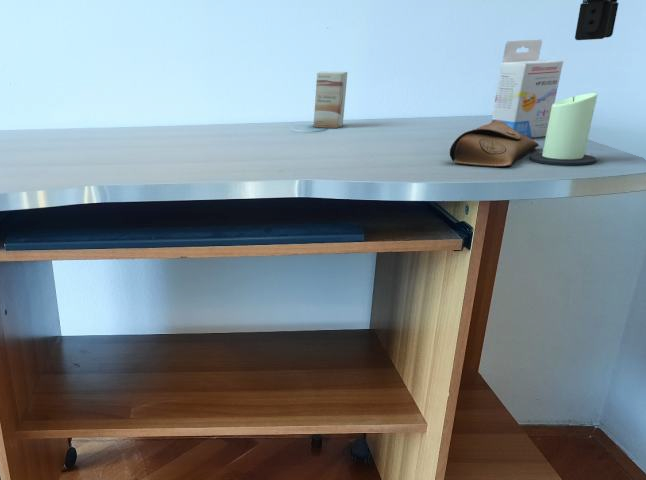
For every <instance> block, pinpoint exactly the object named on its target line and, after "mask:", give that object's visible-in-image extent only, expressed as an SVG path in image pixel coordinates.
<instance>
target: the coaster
mask: <svg viewBox="0 0 646 480" xmlns="http://www.w3.org/2000/svg"><path fill="white" fill-rule="evenodd" d="M542 154H543V152H538V153H533V154H531V155H530V156H529V160H530V161H531V162H535V163H538V164H545V165H550V166H551V165H552V166H568V167H569V166H574V167H575V166H587V165H592V164H595V163H597V157H596V156H592V155H589V154H584V156H583V158H581V159H578V160H555V159H548V158H545V157H543V156H542Z"/></svg>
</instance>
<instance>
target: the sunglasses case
mask: <svg viewBox="0 0 646 480" xmlns="http://www.w3.org/2000/svg"><path fill="white" fill-rule="evenodd" d="M539 146H540V144H539V143H538V142H537V141H536V140H535V139H533V138H529V137H526V136H524V135H522V134H519V133H518V132H516V131H515V130H513V129H512V128H511V127H510V126H508V125H507V124H505V123H504V122H502V121H499V120H494V121H492V120H491V122H490V123H487V124H484V125H482V126H479V127H477V128H475V129H470V130H467V131H464V132H463V133H462V134H460V135H459V136H458V137H457V138H456V139H455V140H454V141H453V143H452V144H451V145H450V149H449V157H450V158H451V161H452V162H453V163H454V164H458V165H459V164H460V165H465V166H472V167H491V168H493V167H496V168H497V167H508V166H510V167H511V166H512V165H513V163H514V162H515V161H517V160H518V159H519V158H521V157H523V156H525V155H527V154H528V153H530V152H532V151H534V150H535V149H536V148H538V147H539Z"/></svg>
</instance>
